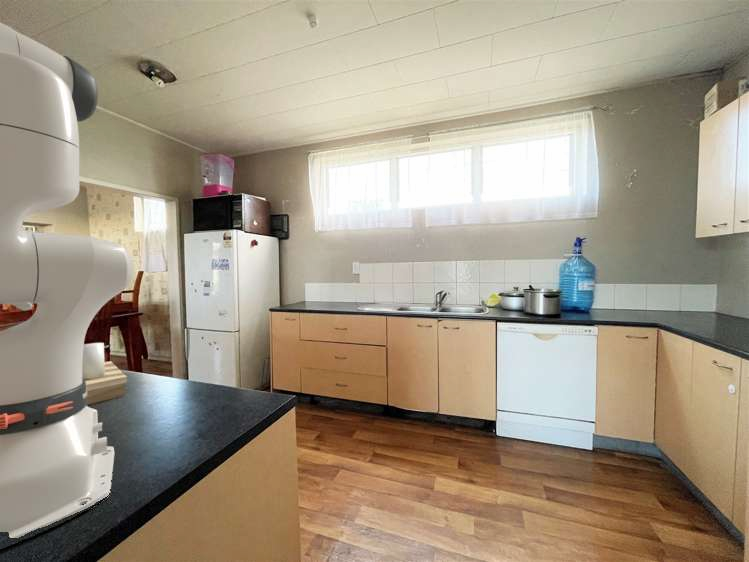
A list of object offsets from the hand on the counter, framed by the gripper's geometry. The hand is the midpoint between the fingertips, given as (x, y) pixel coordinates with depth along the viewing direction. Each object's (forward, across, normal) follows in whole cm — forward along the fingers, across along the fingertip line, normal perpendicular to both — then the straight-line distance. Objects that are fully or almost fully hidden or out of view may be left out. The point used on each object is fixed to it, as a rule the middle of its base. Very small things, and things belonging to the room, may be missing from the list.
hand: (39, 306), depth 74 cm
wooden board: (+22, +6, +13) cm, 26 cm away
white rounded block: (+20, +3, +8) cm, 21 cm away
